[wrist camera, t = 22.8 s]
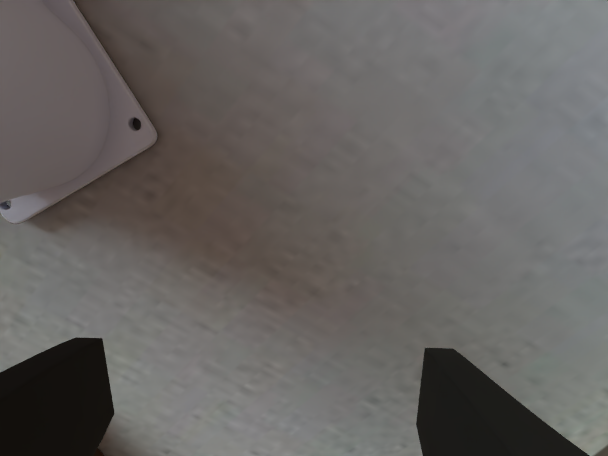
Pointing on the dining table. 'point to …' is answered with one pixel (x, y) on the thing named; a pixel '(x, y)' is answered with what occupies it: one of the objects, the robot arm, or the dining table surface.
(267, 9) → the dining table surface
